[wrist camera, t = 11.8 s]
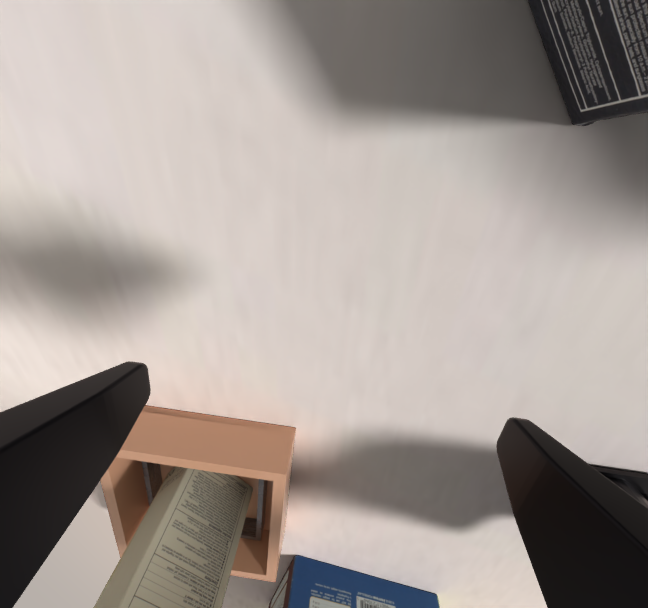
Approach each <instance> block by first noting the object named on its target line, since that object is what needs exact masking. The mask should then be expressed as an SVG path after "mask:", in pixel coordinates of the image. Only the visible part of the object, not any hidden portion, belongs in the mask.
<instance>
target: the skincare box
mask: <svg viewBox="0 0 648 608" xmlns="http://www.w3.org/2000/svg"><path fill="white" fill-rule="evenodd" d="M252 492H253V488H252V487H251V486H250V485H248V484H247V483H245V482H244V481H243V480H241V479H240V478H239V477H237V476H236V475H230V474H223V473H216V472H210V471H203V470H197V469H190V468H184V467H177V466H175V467H174V468H173V469H172V470H171V471H170V472H169V473H168V474H167V476H166V478H165V479H164V481H163V483H162V485H161V487H160V488H159V490H158V492H157V494H156V496H155V497H154V499H153V501H152V503H151V505H150V506H149V508H148V510H147V512H146V514H145V515H144V517H143V519H142V521H141V523H140V524H139V526H138V528H137V530H136V532H135V533H134V535H133V537H132V539H131V541H130V542H129V544H128V546H127V548H126V550H125V551H124V553H123V555H122V557H121V559H120V561H119V562H118V565H117V566H116V568H115V570H114V572H113V573H112V575H111V577H110V579H109V581H108V582H107V584H106V586H105V588H104V590H103V591H102V593H101V595H100V597H99V599H98V601H97V603H96V604H95V606H94V608H221V607H222V604H223V599H224V596H225V592H226V589H227V585H228V581H229V577H230V574H231V570H232V566H233V563H234V559H235V555H236V551H237V548H238V544H239V540H240V537H241V533H242V529H243V525H244V522H245V518H246V514H247V510H248V507H249V503H250V499H251V496H252Z"/></svg>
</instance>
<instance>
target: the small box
mask: <svg viewBox="0 0 648 608" xmlns="http://www.w3.org/2000/svg"><path fill="white" fill-rule="evenodd" d="M528 1H529V4H530V7H531V10H532V12H533V15H534V18H535V21H536V24H537V27H538V29H539V32H540V35H541V37H542V40H543V43H544V46H545V49H546V51H547V54H548V57H549V60H550V63H551V65H552V68H553V71H554V73H555V77H556V80H557V82H558V85H559V88H560V90H561V93H562V96H563V99H564V101H565V104H566V106H567V109H568V112H569V114H570V117H571V120H572V124H573V125H582V126H586V125H589V124H592V123H594V122H595V121H599V120H605V119H610V118H616V117H622V116H627V115H631V114H640V113H645V112H648V0H528Z"/></svg>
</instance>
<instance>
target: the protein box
mask: <svg viewBox="0 0 648 608" xmlns="http://www.w3.org/2000/svg"><path fill="white" fill-rule="evenodd" d="M269 608H440V606H439V601H438V596H437V595H436V594H433V593H430V592H426V591H423V590H419V589H416V588H412V587H409V586H405V585H402V584H398V583H395V582H391V581H388V580H384V579H381V578H377V577H374V576H370V575H367V574H362V573H359V572H356V571H352V570H349V569H345V568H342V567H338V566H335V565H331V564H328V563H324V562H320V561H317V560H313V559H310V558H306V557H303V556H299V555H296V556H295V557H294V558H293V560H292V562H291V564H290V566H289V568H288V570H287V572H286V573H285V575H284V577H283V579H282V581H281V583H280V585H279V587H278V589H277V590H276V592H275V594H274V596H273V598H272V600H271V602H270V604H269Z"/></svg>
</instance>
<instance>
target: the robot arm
mask: <svg viewBox="0 0 648 608" xmlns="http://www.w3.org/2000/svg"><path fill="white" fill-rule="evenodd" d="M149 396H150V382H149V375H148V368H147V366H146V365H145V364H144V363H138V362H125V363H123V364H120V365H118V366H115V367H113V368H110V369H108V370H105V371H103V372H100V373H98V374H95V375H93V376H90V377H88V378H85V379H83V380H80V381H78V382H75V383H73V384H70V385H68V386H65V387H63V388H60V389H58V390H55V391H53V392H50V393H48V394H45V395H43V396H40V397H38V398H35V399H33V400H30V401H28V402H25V403H23V404H20V405H18V406H15V407H13V408H10V409H8V410H5V411H3V412H0V608H12V607H13V606H14V605H15V603H16V602H17V600H18V599H19V598H20V596H21V595H22V593H23V592H24V590H25V589H26V587H27V586H28V584H29V583H30V581H31V580H32V579H33V577H34V576H35V574H36V573H37V571H38V570H39V568H40V567H41V566H42V564H43V562H44V561H45V560H46V558H47V557H48V555H49V554H50V552H51V551H52V550H53V548H54V547H55V545H56V544H57V542H58V541H59V539H60V538H61V536H62V535H63V534H64V532H65V531H66V529H67V528H68V526H69V525H70V523H71V522H72V520H73V519H74V517H75V516H76V515H77V513H78V512H79V510H80V509H81V507H82V506H83V504H84V503H85V502H86V500H87V499H88V497H89V496H90V494H91V493H92V491H93V490H94V489H95V487H96V486H97V484H98V483H99V481H100V480H101V478H102V477H103V475H104V474H105V473H106V471H107V470H108V468H109V467H110V465H111V464H112V462H113V461H114V459H115V458H116V456H117V454H118V453H119V451H120V449H121V448H122V446H123V444H124V442H125V441H126V439H127V437H128V435H129V433H130V432H131V430H132V428H133V426H134V424H135V422H136V421H137V419H138V417H139V415H140V413H141V412H142V410H143V408H144V406H145V404H146V403H147V401H148V399H149ZM497 453H498V457H499V461H500V465H501V469H502V472H503V476H504V480H505V484H506V488H507V491H508V495H509V499H510V503H511V506H512V510H513V513H514V517H515V519H516V522H517V525H518V528H519V531H520V534H521V536H522V539H523V542H524V545H525V547H526V550H527V553H528V555H529V558H530V561H531V564H532V566H533V569H534V572H535V574H536V577H537V580H538V583H539V585H540V588H541V591H542V594H543V596H544V599H545V602H546V604H547V607H548V608H648V474H642V473H635V472H628V471H621V470H615V469H608V468H601V467H594V466H590V465H589V464H588V463H586V462H585V461H584V460H582V459H581V458H580V457H578V456H577V455H575V454H574V453H573V452H571V451H570V450H569V449H567V448H566V447H565V446H563V445H562V444H561V443H559V442H558V441H557V440H555V439H554V438H553V437H551V436H550V435H549V434H547V433H546V432H544V431H543V430H542V429H540V428H539V427H538V426H536V425H535V424H534V423H532V422H531V421H529V420H527V419H521V418H514V417H513V418H509V419H508V420H507V422H506V424H505V426H504V428H503V430H502V432H501V434H500V437H499V439H498V441H497Z"/></svg>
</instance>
